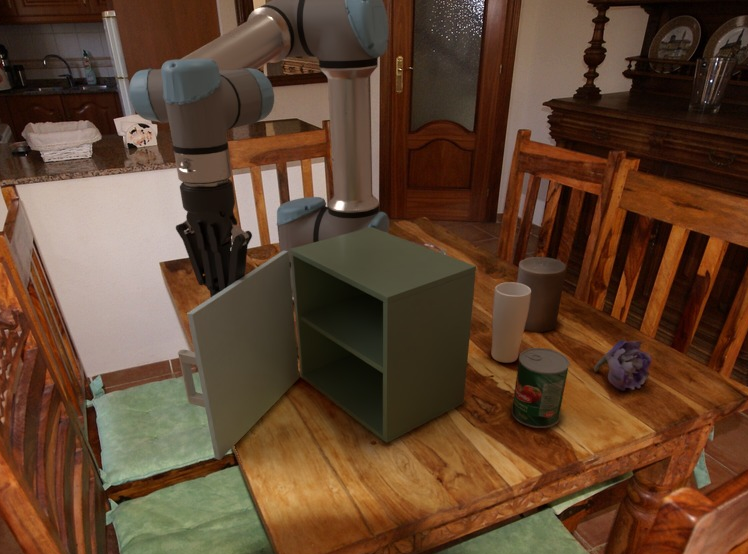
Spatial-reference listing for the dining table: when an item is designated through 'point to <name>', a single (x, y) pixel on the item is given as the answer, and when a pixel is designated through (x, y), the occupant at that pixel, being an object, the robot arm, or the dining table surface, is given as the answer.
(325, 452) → the dining table surface
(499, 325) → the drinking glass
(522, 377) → the canned tomato
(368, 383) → the cupboard
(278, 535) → the dining table surface
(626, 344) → the flower
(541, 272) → the pillar candle
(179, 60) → the robot arm
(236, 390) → the door
